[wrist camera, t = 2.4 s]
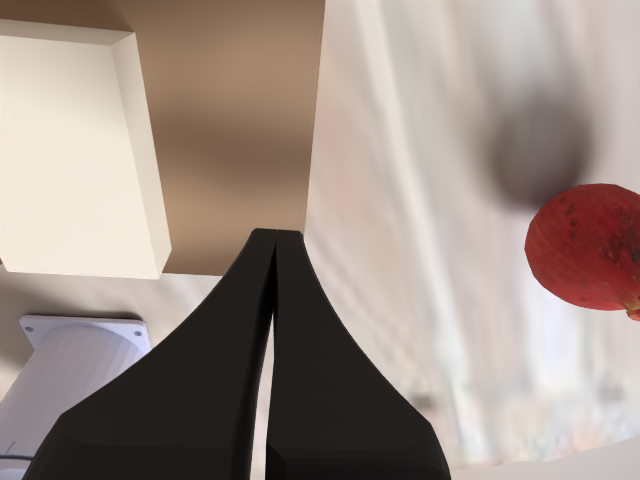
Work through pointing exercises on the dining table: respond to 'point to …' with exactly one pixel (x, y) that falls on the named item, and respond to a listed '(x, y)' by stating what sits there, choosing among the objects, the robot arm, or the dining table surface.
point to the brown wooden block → (217, 111)
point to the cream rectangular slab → (77, 155)
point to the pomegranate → (589, 247)
